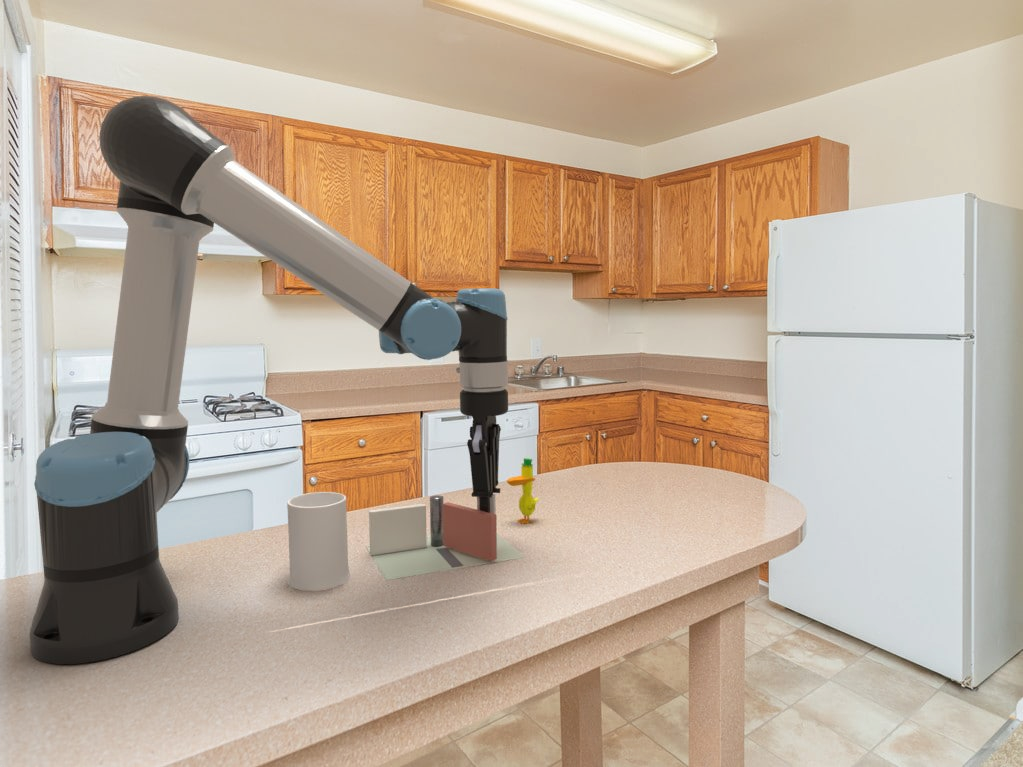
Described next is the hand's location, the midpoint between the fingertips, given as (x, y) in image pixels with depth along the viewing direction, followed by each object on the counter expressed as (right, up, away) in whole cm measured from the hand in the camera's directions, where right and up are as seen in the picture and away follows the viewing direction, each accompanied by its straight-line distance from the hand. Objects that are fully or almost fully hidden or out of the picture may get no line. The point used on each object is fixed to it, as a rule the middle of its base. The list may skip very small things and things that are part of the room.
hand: (487, 534), depth 103 cm
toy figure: (+6, -2, +15) cm, 17 cm away
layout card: (-7, -3, 0) cm, 8 cm away
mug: (-25, -4, -9) cm, 27 cm away
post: (-8, -2, +3) cm, 9 cm away
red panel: (-3, -3, -1) cm, 4 cm away
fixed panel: (-14, -3, +1) cm, 15 cm away
